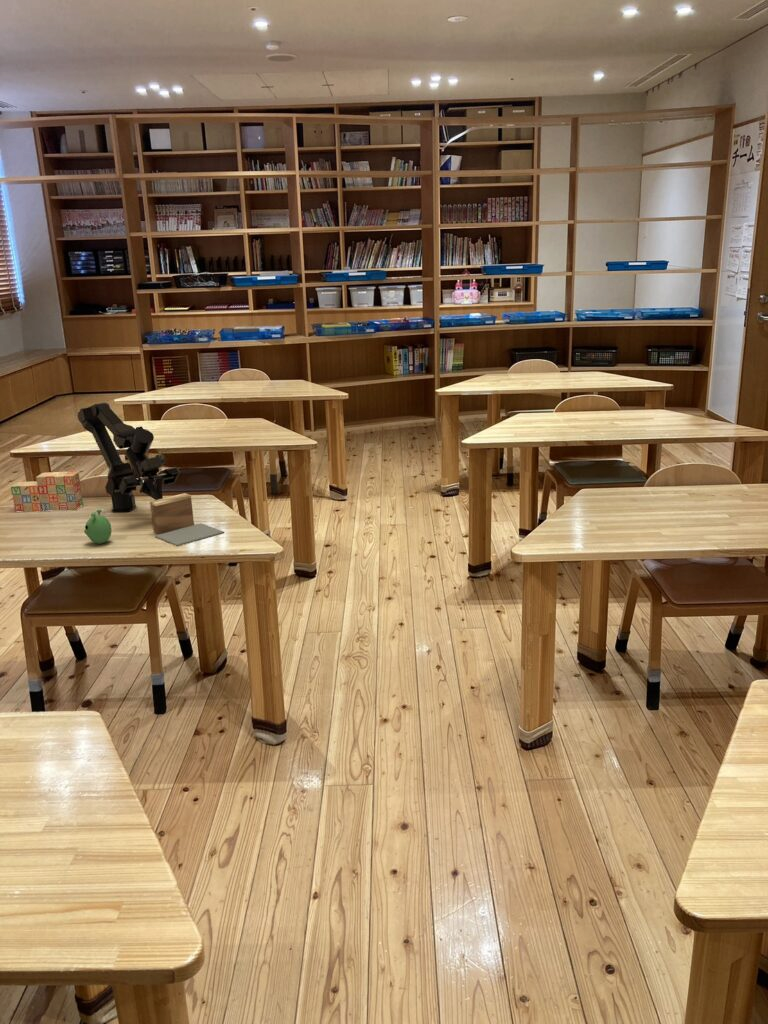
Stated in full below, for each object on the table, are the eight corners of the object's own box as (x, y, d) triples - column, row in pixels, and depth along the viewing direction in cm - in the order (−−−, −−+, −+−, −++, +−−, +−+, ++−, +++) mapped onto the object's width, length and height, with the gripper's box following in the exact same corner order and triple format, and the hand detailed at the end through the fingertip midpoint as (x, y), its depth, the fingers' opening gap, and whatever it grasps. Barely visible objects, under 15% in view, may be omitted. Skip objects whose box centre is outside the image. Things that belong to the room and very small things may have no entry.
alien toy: (91, 539, 242) (86, 507, 240) (116, 539, 242) (112, 507, 239) (82, 547, 236) (77, 514, 233) (108, 546, 235) (103, 513, 232)
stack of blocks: (14, 512, 274) (8, 477, 271) (22, 507, 280) (16, 473, 277) (77, 510, 274) (72, 475, 271) (84, 505, 280) (78, 470, 277)
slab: (153, 532, 247) (149, 501, 244) (188, 523, 255) (185, 493, 252) (159, 535, 244) (155, 503, 241) (194, 526, 252) (190, 495, 249)
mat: (154, 537, 242) (154, 535, 242) (201, 524, 253) (201, 523, 253) (177, 546, 233) (176, 544, 233) (224, 533, 244) (224, 531, 244)
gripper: (118, 452, 244) (140, 493, 240) (173, 442, 257) (195, 481, 252) (110, 473, 252) (131, 514, 247) (164, 462, 264) (185, 501, 260)
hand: (161, 502), depth 251 cm, fingers closed
